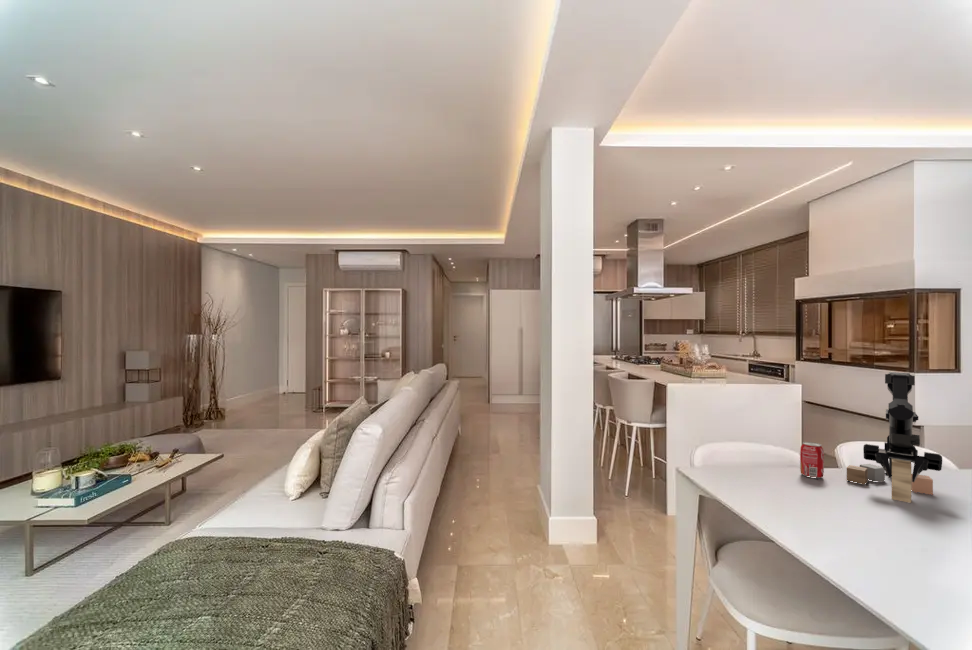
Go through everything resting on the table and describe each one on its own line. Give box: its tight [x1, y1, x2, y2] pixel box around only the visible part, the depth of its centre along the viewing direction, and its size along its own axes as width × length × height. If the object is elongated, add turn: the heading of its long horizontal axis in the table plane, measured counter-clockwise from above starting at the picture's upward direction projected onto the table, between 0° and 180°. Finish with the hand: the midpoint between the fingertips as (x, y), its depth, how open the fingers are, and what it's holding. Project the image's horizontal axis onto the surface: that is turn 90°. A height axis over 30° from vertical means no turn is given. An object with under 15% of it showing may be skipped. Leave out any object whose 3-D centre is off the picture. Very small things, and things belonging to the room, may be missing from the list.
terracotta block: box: [911, 473, 934, 496], centre depth 151 cm, size 5×5×5 cm
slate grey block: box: [859, 463, 886, 481], centre depth 162 cm, size 5×5×5 cm
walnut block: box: [846, 464, 869, 485], centre depth 159 cm, size 5×5×5 cm
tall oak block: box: [891, 459, 912, 504], centre depth 143 cm, size 4×4×12 cm
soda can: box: [799, 441, 825, 479], centre depth 164 cm, size 7×7×12 cm
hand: (901, 479), depth 142 cm, fingers open, 5 cm apart
